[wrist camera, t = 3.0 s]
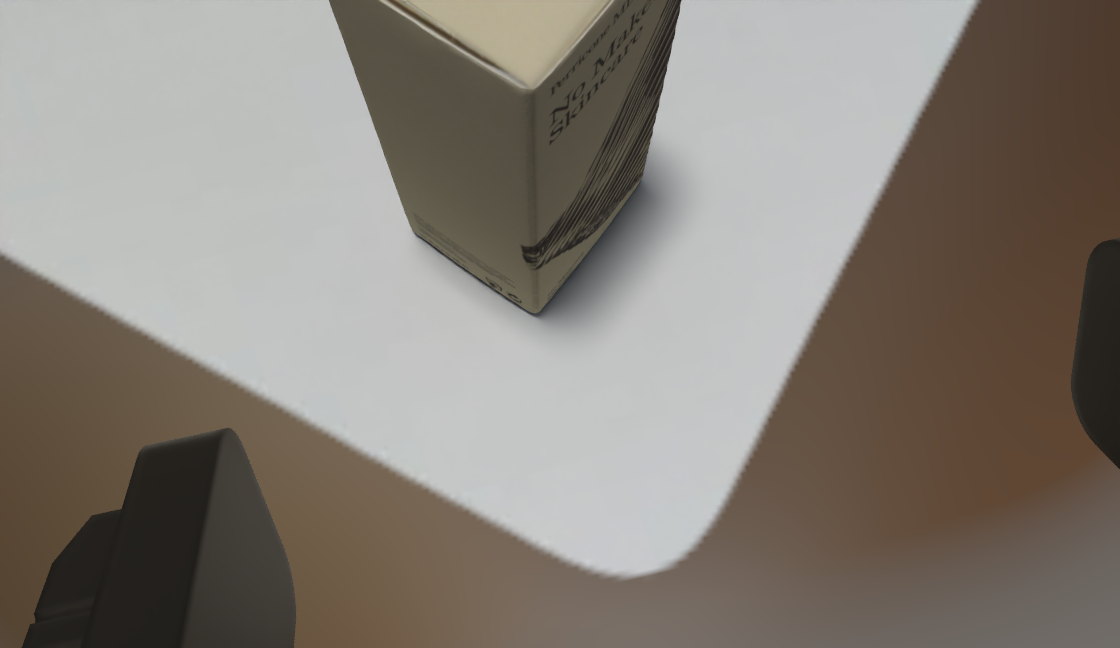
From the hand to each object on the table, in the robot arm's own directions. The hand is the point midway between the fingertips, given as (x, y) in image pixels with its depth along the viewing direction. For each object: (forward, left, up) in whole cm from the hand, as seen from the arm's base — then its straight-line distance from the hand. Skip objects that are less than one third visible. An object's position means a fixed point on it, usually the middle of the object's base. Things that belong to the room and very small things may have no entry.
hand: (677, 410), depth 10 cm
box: (0, +9, -17) cm, 19 cm away
